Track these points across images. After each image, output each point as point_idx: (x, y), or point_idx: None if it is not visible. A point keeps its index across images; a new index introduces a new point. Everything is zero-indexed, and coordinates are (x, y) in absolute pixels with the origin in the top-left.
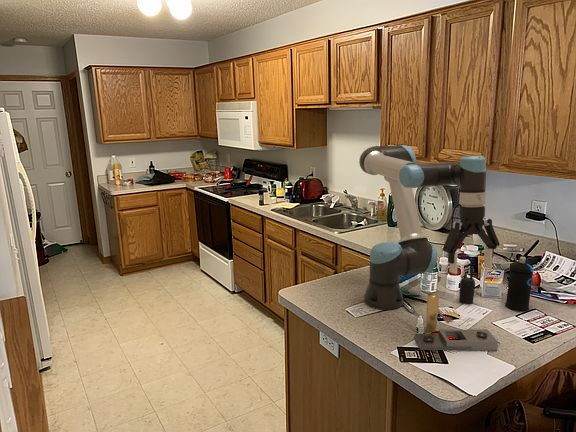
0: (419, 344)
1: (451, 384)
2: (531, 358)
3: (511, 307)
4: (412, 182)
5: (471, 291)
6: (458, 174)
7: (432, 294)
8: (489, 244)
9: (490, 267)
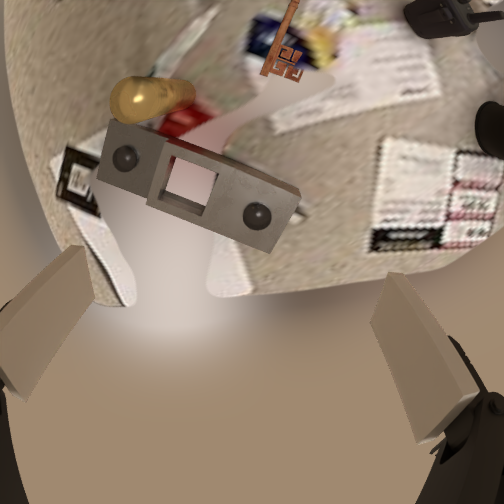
0: (99, 167)
1: (109, 280)
2: (308, 286)
3: (479, 127)
4: None
5: (441, 32)
6: None
7: (134, 89)
8: (427, 482)
9: (374, 329)
